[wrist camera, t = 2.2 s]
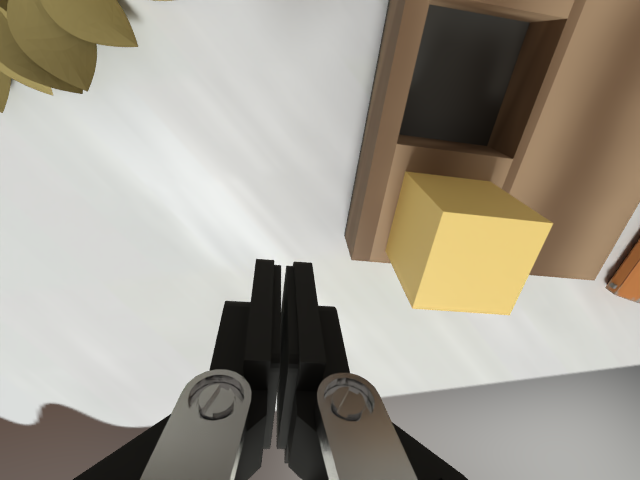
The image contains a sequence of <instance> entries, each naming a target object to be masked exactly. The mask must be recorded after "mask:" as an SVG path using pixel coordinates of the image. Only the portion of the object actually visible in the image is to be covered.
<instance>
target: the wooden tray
mask: <svg viewBox="0 0 640 480" xmlns="http://www.w3.org/2000/svg"><path fill="white" fill-rule="evenodd" d="M405 171H406V172H414V173H423V174H431V175H440V176H448V177H457V178H465V179H474V180H482V181H490V182H492V183H493V184H495V185H496V186H498V187H499V188H501V189H502V190H504V191H505V192H507V193H508V194H510V195H511V196H513V197H514V198H516V199H517V200H519V201H521V202H522V203H524V204H525V205H527V206H528V207H530V208H531V209H533V210H534V211H536V212H537V213H539V214H540V215H542V216H543V217H545V218H546V219H548V220H549V221H551V222H552V223H553V225H552V227H551V229H550V231H549V234H548V236H547V238H546V240H545V242H544V244H543V246H542V248H541V250H540V252H539V255H538V257H537V259H536V261H535V263H534V265H533V267H532V269H531V271H530V274H529V275H536V276H548V277H560V278H572V279H584V280H595V278H596V277H597V275H598V273H599V271H600V270H601V268H602V266H603V264H604V263H605V261H606V259H607V258H608V256H609V254H610V252H611V251H612V249H613V247H614V245H615V244H616V242H617V240H618V239H619V237H620V235H621V233H622V232H623V230H624V228H625V226H626V225H627V223H628V221H629V219H630V218H631V216H632V214H633V213H634V211H635V209H636V207H637V206H638V204H639V202H640V0H389V4H388V9H387V14H386V19H385V25H384V30H383V35H382V40H381V46H380V51H379V56H378V61H377V67H376V72H375V77H374V82H373V88H372V93H371V98H370V103H369V109H368V114H367V119H366V124H365V130H364V135H363V140H362V145H361V151H360V156H359V161H358V166H357V172H356V177H355V182H354V187H353V193H352V198H351V203H350V209H349V214H348V219H347V224H346V230H345V235H344V236H345V239H346V242H347V246H348V249H349V253H350V256H351V260H358V261H370V262H382V263H391V262H390V260H389V258H388V256H387V254H386V251H385V250H386V246H387V242H388V238H389V234H390V230H391V226H392V222H393V218H394V214H395V210H396V206H397V203H398V199H399V195H400V191H401V187H402V183H403V179H404V175H405Z"/></svg>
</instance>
